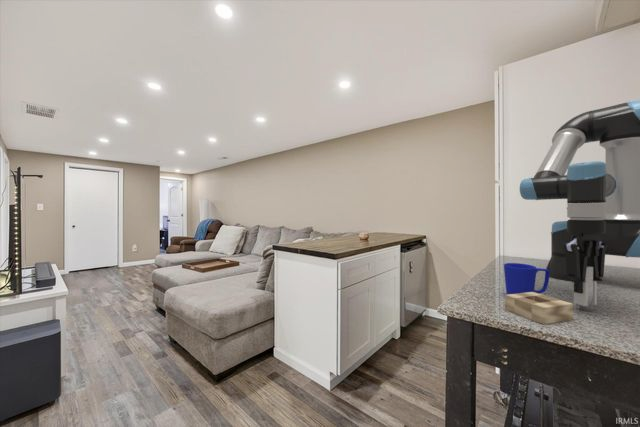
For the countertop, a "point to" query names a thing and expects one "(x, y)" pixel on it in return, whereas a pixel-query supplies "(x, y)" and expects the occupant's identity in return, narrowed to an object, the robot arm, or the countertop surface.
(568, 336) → the countertop surface
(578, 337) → the countertop surface
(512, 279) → the mug
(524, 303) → the hole block
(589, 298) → the peg
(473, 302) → the countertop surface
